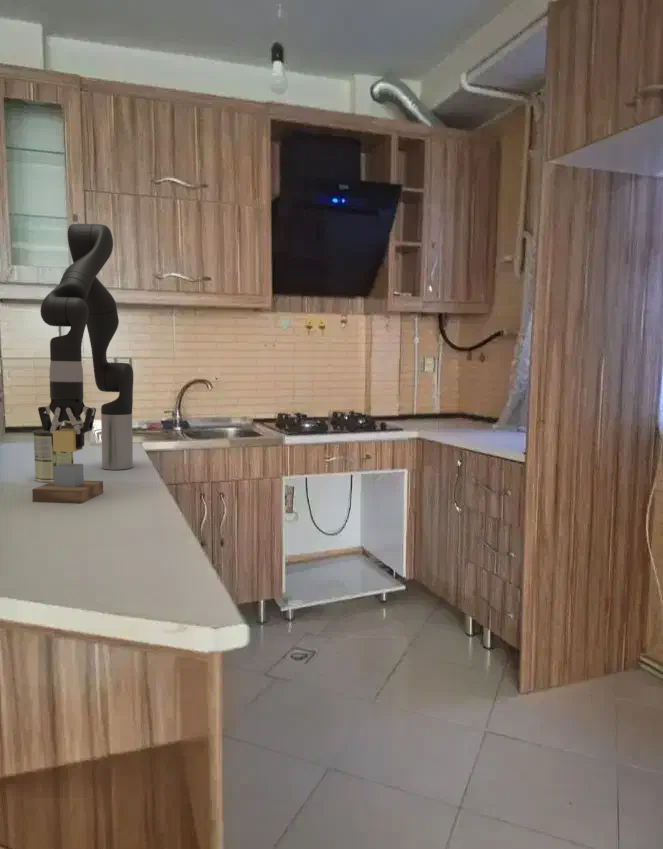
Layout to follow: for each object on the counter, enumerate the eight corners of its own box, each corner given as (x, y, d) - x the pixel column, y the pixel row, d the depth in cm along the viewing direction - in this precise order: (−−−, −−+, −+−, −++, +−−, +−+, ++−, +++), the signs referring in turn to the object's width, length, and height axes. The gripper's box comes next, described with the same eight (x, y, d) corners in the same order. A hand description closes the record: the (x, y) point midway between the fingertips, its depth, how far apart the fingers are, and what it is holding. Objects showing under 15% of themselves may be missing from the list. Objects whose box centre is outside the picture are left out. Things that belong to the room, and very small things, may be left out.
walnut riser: (58, 490, 157) (58, 479, 157) (103, 492, 156) (102, 481, 156) (32, 501, 145) (32, 489, 145) (81, 503, 144) (81, 490, 144)
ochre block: (63, 448, 152) (62, 428, 151) (82, 449, 152) (82, 429, 151) (53, 451, 147) (52, 431, 146) (73, 452, 147) (72, 431, 146)
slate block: (64, 482, 153) (63, 463, 152) (83, 483, 153) (83, 463, 152) (54, 486, 148) (53, 466, 147) (74, 487, 148) (73, 467, 147)
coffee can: (47, 474, 178) (46, 427, 176) (80, 476, 177) (79, 428, 175) (26, 481, 168) (25, 431, 166) (61, 483, 167) (60, 432, 165)
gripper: (101, 380, 151) (102, 447, 153) (46, 378, 152) (48, 445, 153) (87, 381, 143) (89, 451, 145) (29, 379, 144) (31, 449, 146)
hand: (68, 448), depth 149 cm, fingers closed on ochre block, 5 cm apart
